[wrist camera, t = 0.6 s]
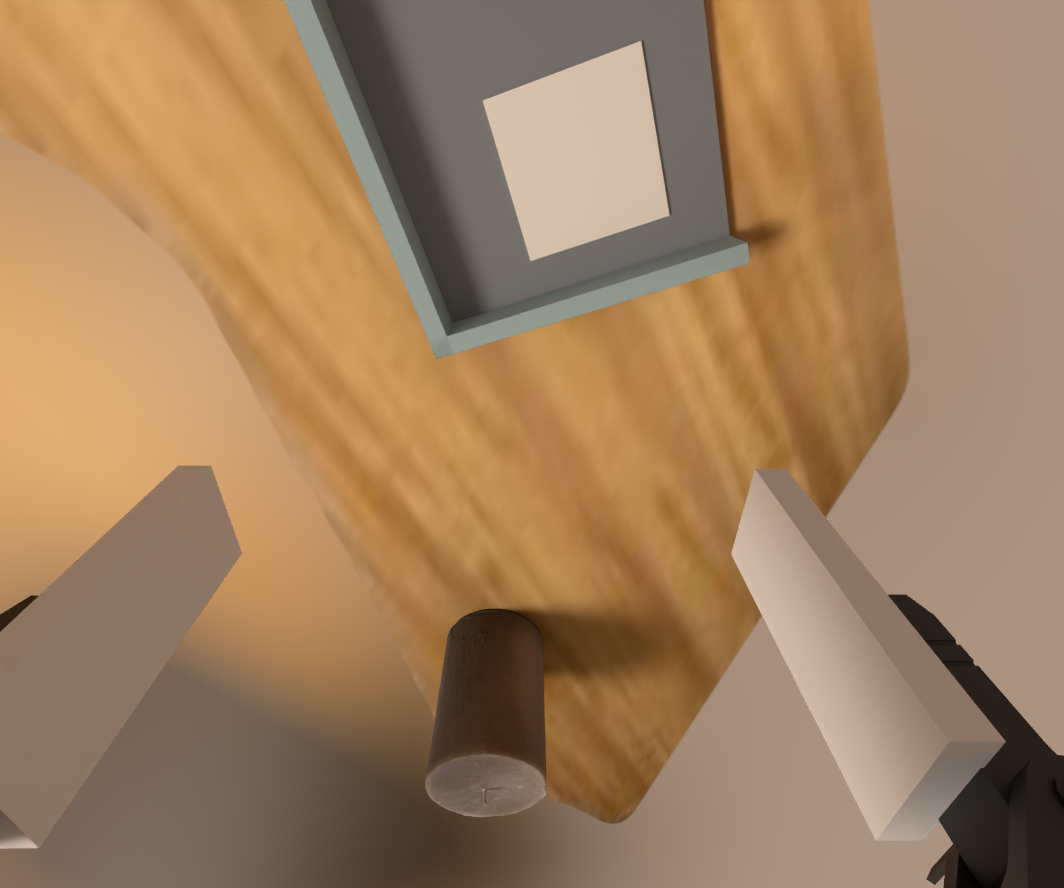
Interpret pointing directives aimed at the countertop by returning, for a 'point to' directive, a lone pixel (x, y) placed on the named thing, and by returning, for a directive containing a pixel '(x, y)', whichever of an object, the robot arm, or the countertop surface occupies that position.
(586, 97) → the pad
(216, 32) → the countertop surface
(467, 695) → the pillar candle
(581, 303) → the tray
